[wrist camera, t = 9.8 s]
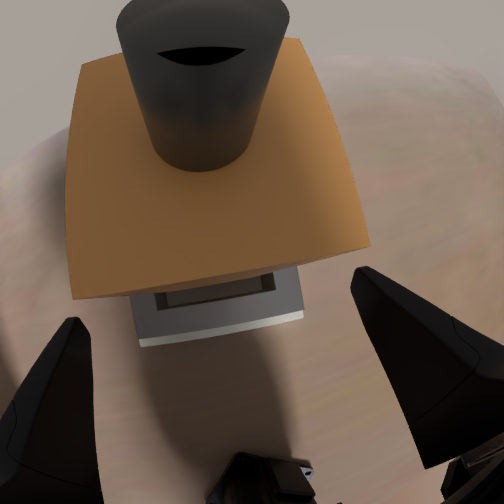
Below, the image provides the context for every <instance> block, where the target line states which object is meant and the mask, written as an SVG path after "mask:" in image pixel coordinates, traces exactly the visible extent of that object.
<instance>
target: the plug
mask: <svg viewBox="0 0 504 504" xmlns="http://www.w3.org/2000/svg"><path fill="white" fill-rule="evenodd" d="M289 18H290V16H289V12H288V9H287V7H286V6H285V4H284V3H283V2H282V1H281V0H132V1H130V2H129V3H128V4H127V5H126V6H125V7H124V9H123V10H122V11H121V13H120V14H119V16H118V19H117V23H116V29H117V33H118V37H119V41H120V44H121V48H122V51H123V53H119V54H115V55H111V56H108V57H104V58H101V59H98V60H94V61H91V62H88V63H85V64H82V66H81V71H80V75H79V79H78V84H77V89H76V94H75V99H74V104H73V110H72V117H71V123H70V131H69V140H68V150H67V162H66V181H65V226H66V245H67V258H68V268H69V277H70V285H71V292H72V298H73V300H75V299H89V298H103V297H115V296H127V295H139V294H150V293H161V292H171V291H180V290H186V289H192V288H198V287H203V286H209V285H215V284H220V283H226V282H231V281H236V280H242V279H247V278H251V277H255V276H259V275H263V274H267V273H271V272H275V271H279V270H283V269H287V268H291V267H295V266H299V265H303V264H306V263H310V262H314V261H318V260H322V259H325V258H329V257H333V256H337V255H340V254H344V253H348V252H351V251H355V250H359V249H362V248H366V247H370V241H369V237H368V232H367V228H366V224H365V219H364V215H363V211H362V207H361V204H360V200H359V196H358V192H357V189H356V185H355V182H354V178H353V175H352V172H351V168H350V165H349V162H348V159H347V155H346V152H345V149H344V146H343V143H342V140H341V137H340V135H339V132H338V129H337V126H336V123H335V121H334V118H333V115H332V113H331V110H330V107H329V105H328V102H327V100H326V97H325V95H324V92H323V90H322V87H321V85H320V83H319V80H318V78H317V76H316V73H315V71H314V69H313V67H312V65H311V62H310V60H309V58H308V56H307V54H306V52H305V50H304V48H303V45H302V43H301V41H300V39H297V38H284V35H285V32H286V29H287V26H288V24H289Z"/></svg>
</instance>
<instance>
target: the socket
mask: <svg viewBox="0 0 504 504" xmlns="http://www.w3.org/2000/svg"><path fill="white" fill-rule="evenodd" d="M130 300H131V306H132V312H133V317H134V322H135V327H136V332H137V337H138V339H139V343H140V347H147V346H155V345H163V344H170V343H177V342H184V341H190V340H197V339H203V338H209V337H214V336H220V335H226V334H231V333H236V332H241V331H247V330H252V329H256V328H261V327H266V326H271V325H275V324H280V323H284V322H289V321H293V320H297V319H301V318H304V317H303V311H302V310H305V309H304V303H303V297H302V292H301V286H300V281H299V275H298V270H297V266H295V267H291V268H287V269H283V270H279V271H275V272H271V273H267V274H263V275H259V276H255V277H251V278H247V279H242V280H236V281H231V282H226V283H220V284H215V285H209V286H203V287H198V288H192V289H186V290H180V291H171V292H161V293H150V294H139V295H130Z"/></svg>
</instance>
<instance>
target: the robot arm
mask: <svg viewBox="0 0 504 504" xmlns="http://www.w3.org/2000/svg"><path fill="white" fill-rule="evenodd" d="M350 289H351V293H352V296H353V298H354V301H355V304H356V306H357V309H358V312H359V314H360V317H361V320H362V322H363V325H364V327H365V330H366V332H367V334H368V336H369V338H370V340H371V342H372V344H373V347H374V349H375V351H376V353H377V355H378V357H379V359H380V361H381V363H382V366H383V368H384V370H385V372H386V374H387V377H388V379H389V381H390V383H391V386H392V388H393V390H394V392H395V395H396V397H397V399H398V402H399V404H400V406H401V409H402V411H403V414H404V416H405V418H406V421H407V423H408V425H409V429H410V431H411V434H412V436H413V439H414V442H415V444H416V447H417V449H418V452H419V455H420V458H421V460H422V463H423V466H424V468H425V470H426V469H429V468H431V467H434V466H437V465H439V464H442V463H444V462H446V461H449V460H450V459H453V458H455V457H456V458H455V459H454V460H453V461H451V462H450V463H449V465H448V469H447V472H446V475H445V478H444V481H443V484H442V487H441V489H440V490H441V492H442V495H443V497H444V500H445V501H444V502H442V503H441V504H504V346H503V345H501V344H500V343H498V342H496V341H494V340H492V339H490V338H489V337H487V336H485V335H483V334H481V333H479V332H478V331H476V330H474V329H472V328H470V327H469V326H467V325H466V324H464V323H462V322H461V321H459V320H457V319H456V318H454V317H453V316H450V315H449V314H448V313H446V312H445V311H443V310H441V309H440V308H438V307H437V306H435V305H433V304H432V303H430V302H428V301H427V300H425V299H423V298H422V297H420V296H418V295H417V294H415V293H413V292H412V291H410V290H408V289H407V288H405V287H403V286H402V285H400V284H398V283H397V282H395V281H393V280H391V279H390V278H388V277H386V276H384V275H383V274H381V273H379V272H377V271H376V270H374V269H372V268H370V267H369V266H363V267H358V268H356V269H355V271H354V275H353V278H352V282H351V286H350ZM239 458H244V459H242V460H239ZM307 471H309V472H308V473H306V472H307ZM313 474H314V470H313V468H312V467H310V466H305V465H299V464H298V463H295V462H289V461H284V460H279V459H274V458H270V457H267V458H264V457H259V456H255V455H251V454H248V453H244V452H239V453H236V454H235V455H234V456H233V458H232V460H231V462H230V463H229V465H228V467H227V468H226V470H225V471H224V473H223V475H222V476H221V478H220V480H219V481H218V483H217V484H216V486H215V487H214V489H213V491H212V492H211V494H210V495H209V497H208V498H207V500H206V504H212V503H213V504H317V503H316V501H315V499H314V497H315V495H316V494H315V492H314V490H313V488H312V487H311V485H310V483H309V482H308V481H309V480H310V478H311V477H312V476H313ZM0 504H104V500H103V494H102V491H101V484H100V477H99V470H98V462H97V453H96V443H95V429H94V405H93V369H92V354H91V337H90V333H89V331H88V330H87V328H86V327H85V325H84V324H83V322H82V321H81V319H80V318H79V317H68V318H67V319H66V320H65V321H64V322H63V323H62V325H61V326H60V328H59V329H58V330H57V332H56V333H55V334H54V336H53V337H52V339H51V340H50V341H49V343H48V344H47V346H46V347H45V349H44V350H43V351H42V353H41V354H40V356H39V357H38V359H37V360H36V362H35V363H34V365H33V366H32V368H31V370H30V371H29V373H28V374H27V376H26V377H25V379H24V381H23V382H22V384H21V385H20V387H19V389H18V390H17V392H16V394H15V396H14V397H13V399H12V401H11V402H10V404H9V406H8V408H7V409H6V411H5V413H4V415H3V416H2V418H1V420H0ZM337 504H342V503H341V502H340V503H337Z"/></svg>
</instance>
